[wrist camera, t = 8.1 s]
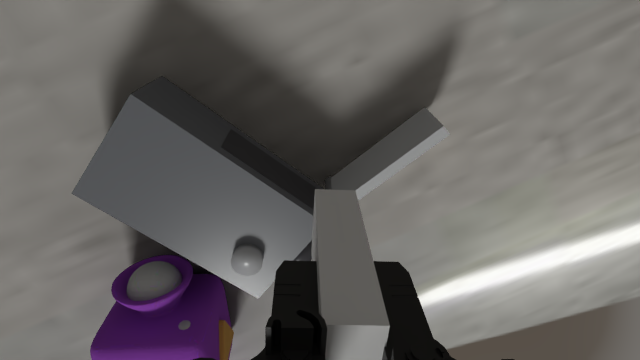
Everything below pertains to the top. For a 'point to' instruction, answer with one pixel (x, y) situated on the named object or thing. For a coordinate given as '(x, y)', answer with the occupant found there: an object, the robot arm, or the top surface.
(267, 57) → the top surface
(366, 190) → the side door
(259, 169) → the box
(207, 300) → the toy camera
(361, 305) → the robot arm
